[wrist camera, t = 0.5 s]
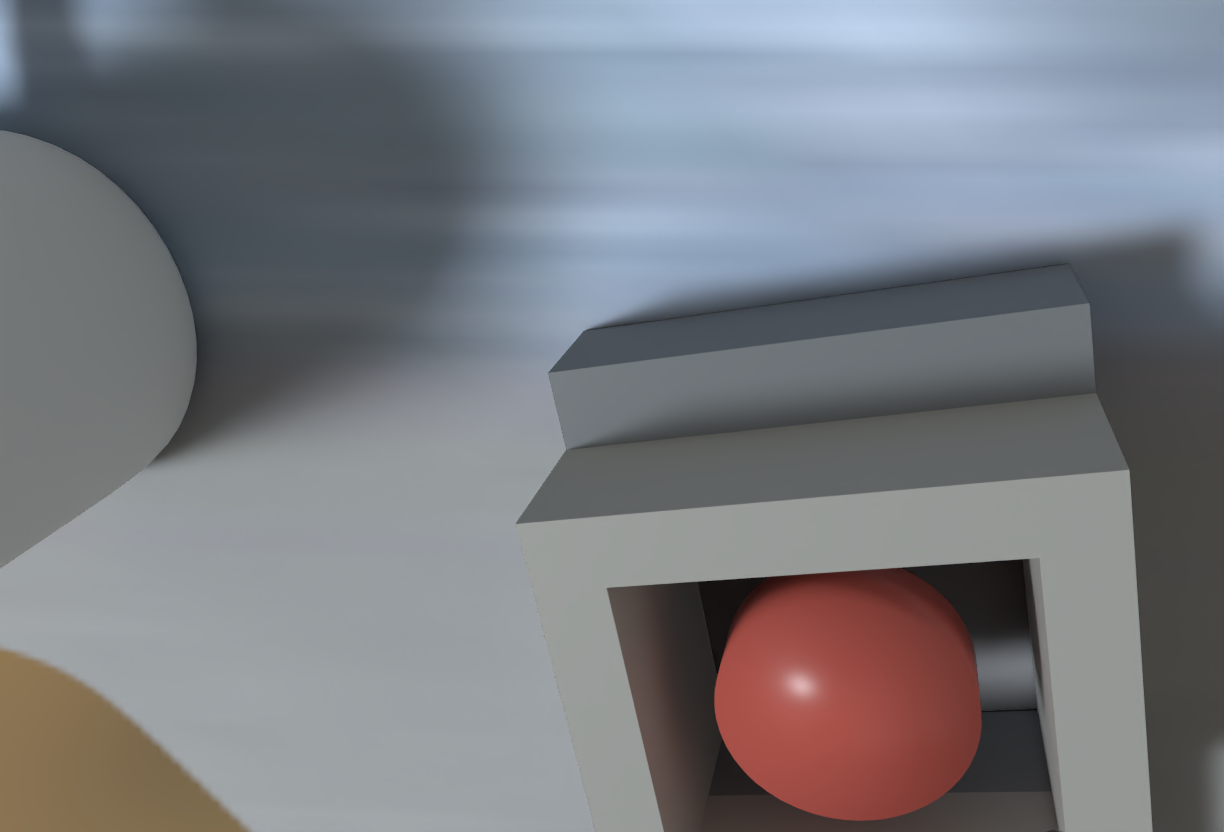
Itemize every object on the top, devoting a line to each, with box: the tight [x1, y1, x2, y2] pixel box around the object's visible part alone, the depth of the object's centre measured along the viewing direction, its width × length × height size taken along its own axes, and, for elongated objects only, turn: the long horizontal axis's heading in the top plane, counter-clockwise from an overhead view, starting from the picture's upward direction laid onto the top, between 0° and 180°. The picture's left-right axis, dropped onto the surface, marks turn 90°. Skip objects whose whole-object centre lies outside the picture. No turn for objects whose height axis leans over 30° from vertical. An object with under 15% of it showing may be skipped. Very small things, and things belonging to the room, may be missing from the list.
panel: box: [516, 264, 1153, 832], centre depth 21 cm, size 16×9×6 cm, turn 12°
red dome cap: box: [714, 568, 982, 821], centre depth 20 cm, size 4×4×2 cm
